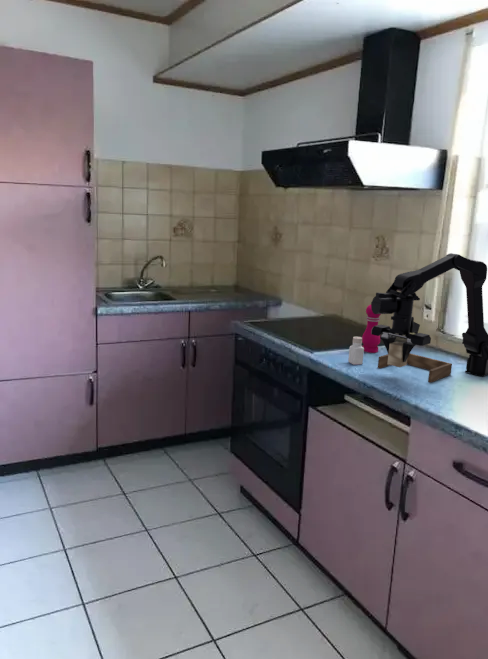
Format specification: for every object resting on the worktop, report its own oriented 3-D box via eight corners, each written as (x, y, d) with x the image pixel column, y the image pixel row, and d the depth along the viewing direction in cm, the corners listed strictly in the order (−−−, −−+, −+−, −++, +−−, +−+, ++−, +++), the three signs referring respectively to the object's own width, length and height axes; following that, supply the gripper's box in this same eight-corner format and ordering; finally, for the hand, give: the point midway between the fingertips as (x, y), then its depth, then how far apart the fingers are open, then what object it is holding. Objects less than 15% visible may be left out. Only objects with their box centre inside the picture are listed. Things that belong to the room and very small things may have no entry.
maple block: (406, 365, 183) (409, 344, 181) (399, 367, 180) (401, 346, 178) (394, 361, 186) (396, 341, 184) (387, 364, 183) (389, 343, 181)
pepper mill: (364, 347, 222) (368, 298, 217) (381, 350, 218) (387, 300, 214) (357, 351, 216) (362, 300, 211) (375, 354, 212) (381, 302, 208)
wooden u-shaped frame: (450, 374, 190) (452, 363, 189) (430, 382, 180) (432, 370, 179) (398, 361, 204) (399, 350, 203) (377, 367, 194) (378, 356, 193)
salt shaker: (357, 361, 201) (359, 336, 199) (363, 364, 197) (365, 338, 195) (347, 362, 199) (349, 336, 197) (353, 365, 196) (355, 339, 194)
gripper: (441, 316, 178) (435, 362, 182) (390, 306, 191) (385, 350, 194) (424, 320, 170) (418, 368, 174) (372, 309, 183) (368, 355, 187)
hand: (397, 360), depth 182 cm, fingers closed on maple block, 4 cm apart
